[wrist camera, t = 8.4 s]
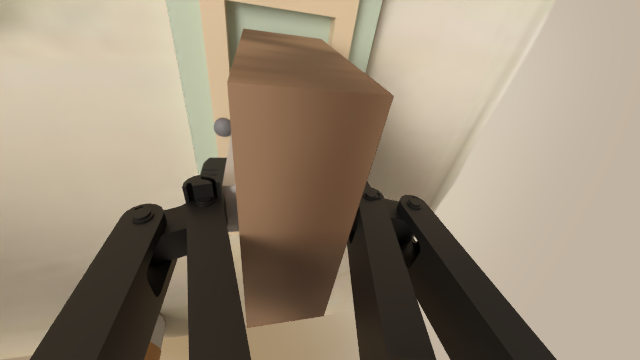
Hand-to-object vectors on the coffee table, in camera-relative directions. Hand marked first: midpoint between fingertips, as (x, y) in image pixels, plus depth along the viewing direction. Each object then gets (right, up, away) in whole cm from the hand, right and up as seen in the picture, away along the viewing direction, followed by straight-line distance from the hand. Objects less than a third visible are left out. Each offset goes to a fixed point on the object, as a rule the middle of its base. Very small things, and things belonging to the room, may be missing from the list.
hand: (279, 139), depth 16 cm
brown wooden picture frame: (0, 0, 0) cm, 0 cm away
